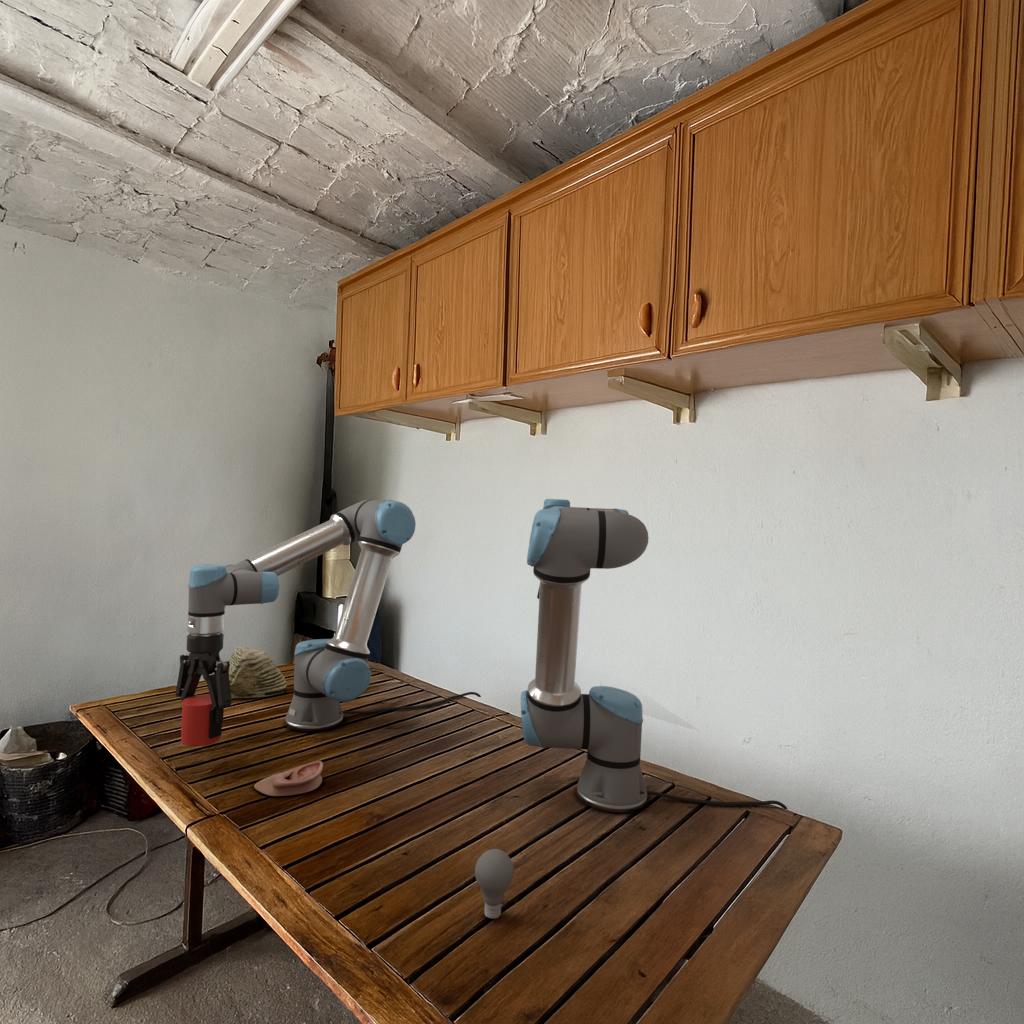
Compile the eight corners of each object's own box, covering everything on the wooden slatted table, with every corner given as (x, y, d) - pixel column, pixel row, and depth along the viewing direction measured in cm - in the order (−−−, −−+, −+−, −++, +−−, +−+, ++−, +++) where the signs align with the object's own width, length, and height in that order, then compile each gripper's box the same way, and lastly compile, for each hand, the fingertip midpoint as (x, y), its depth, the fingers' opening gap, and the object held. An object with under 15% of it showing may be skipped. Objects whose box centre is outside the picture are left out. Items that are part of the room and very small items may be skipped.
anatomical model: (246, 773, 134) (276, 753, 145) (245, 792, 134) (276, 770, 145) (303, 782, 131) (330, 760, 142) (302, 801, 131) (329, 777, 142)
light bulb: (472, 903, 100) (475, 841, 100) (510, 903, 101) (513, 841, 101) (473, 929, 94) (476, 863, 94) (513, 928, 95) (516, 862, 95)
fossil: (218, 695, 195) (220, 647, 195) (278, 685, 208) (279, 640, 207) (228, 703, 189) (230, 653, 188) (289, 692, 201) (290, 645, 201)
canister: (191, 732, 148) (192, 693, 148) (226, 733, 148) (228, 694, 148) (173, 745, 140) (175, 704, 140) (211, 746, 140) (212, 706, 140)
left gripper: (159, 629, 145) (156, 728, 145) (223, 642, 136) (219, 747, 136) (189, 624, 152) (185, 718, 152) (252, 636, 142) (247, 736, 143)
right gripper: (528, 550, 187) (525, 621, 188) (556, 558, 163) (553, 640, 164) (552, 550, 189) (549, 621, 190) (583, 559, 165) (580, 639, 166)
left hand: (201, 732), depth 144 cm, fingers closed on canister, 8 cm apart
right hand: (551, 630), depth 177 cm, fingers open, 13 cm apart
